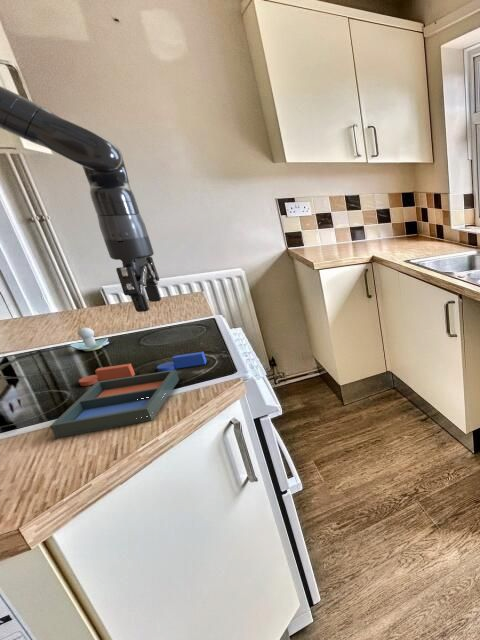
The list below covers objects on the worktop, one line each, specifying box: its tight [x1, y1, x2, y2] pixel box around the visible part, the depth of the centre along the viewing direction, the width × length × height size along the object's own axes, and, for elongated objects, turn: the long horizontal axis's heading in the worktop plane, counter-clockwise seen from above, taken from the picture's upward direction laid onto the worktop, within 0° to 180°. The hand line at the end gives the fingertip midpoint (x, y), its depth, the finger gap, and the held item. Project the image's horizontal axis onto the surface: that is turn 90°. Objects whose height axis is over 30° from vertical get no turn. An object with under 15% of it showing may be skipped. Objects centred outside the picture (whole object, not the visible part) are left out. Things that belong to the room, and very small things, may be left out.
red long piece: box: [78, 363, 136, 387], centre depth 95 cm, size 10×4×3 cm, turn 113°
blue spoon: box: [156, 351, 208, 372], centre depth 101 cm, size 10×4×3 cm, turn 113°
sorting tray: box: [49, 369, 180, 439], centre depth 84 cm, size 14×18×3 cm
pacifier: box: [70, 327, 110, 352], centre depth 112 cm, size 7×6×6 cm
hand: (149, 306), depth 99 cm, fingers open, 8 cm apart
